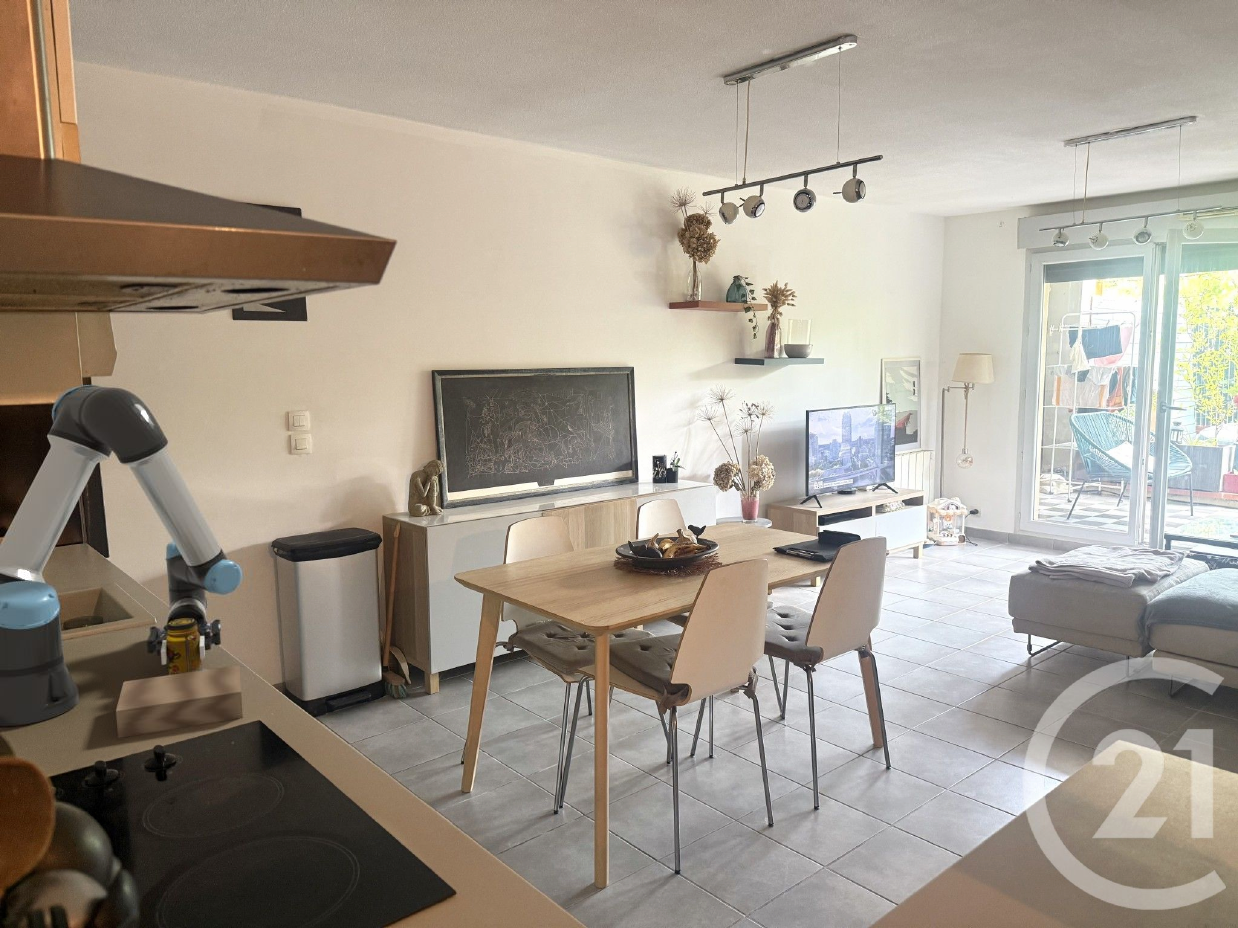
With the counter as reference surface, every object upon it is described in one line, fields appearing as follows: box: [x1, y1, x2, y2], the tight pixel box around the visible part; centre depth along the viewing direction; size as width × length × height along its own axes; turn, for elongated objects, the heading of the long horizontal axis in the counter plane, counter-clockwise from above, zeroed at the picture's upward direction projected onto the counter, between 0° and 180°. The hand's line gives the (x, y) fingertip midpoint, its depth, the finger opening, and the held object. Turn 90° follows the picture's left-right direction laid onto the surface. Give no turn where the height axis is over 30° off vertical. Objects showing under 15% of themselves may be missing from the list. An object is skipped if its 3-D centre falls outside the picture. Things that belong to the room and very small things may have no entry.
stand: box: [115, 664, 244, 739], centre depth 162 cm, size 20×14×5 cm
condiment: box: [166, 618, 209, 675], centre depth 175 cm, size 7×8×12 cm
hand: (183, 655), depth 170 cm, fingers closed on condiment, 6 cm apart
